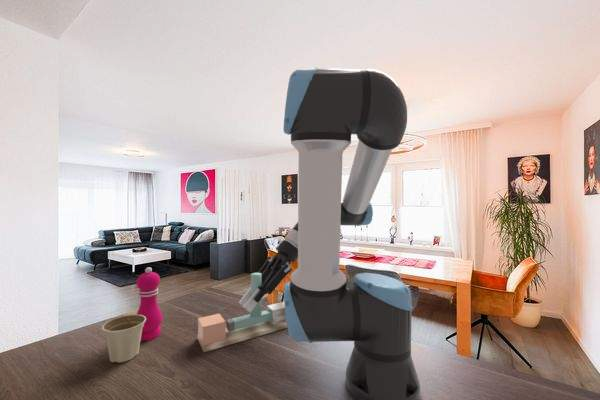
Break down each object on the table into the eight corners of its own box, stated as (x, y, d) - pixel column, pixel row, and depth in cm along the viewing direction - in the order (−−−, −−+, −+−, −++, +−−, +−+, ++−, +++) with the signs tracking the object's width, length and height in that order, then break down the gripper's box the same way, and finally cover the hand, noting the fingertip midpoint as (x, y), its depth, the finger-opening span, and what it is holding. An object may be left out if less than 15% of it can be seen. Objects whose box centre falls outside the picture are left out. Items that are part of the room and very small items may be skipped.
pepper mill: (140, 345, 73) (140, 272, 73) (129, 336, 77) (129, 267, 77) (167, 334, 79) (167, 266, 79) (155, 326, 83) (155, 262, 83)
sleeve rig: (288, 314, 92) (288, 298, 92) (300, 323, 86) (300, 306, 86) (197, 338, 76) (197, 319, 76) (203, 352, 70) (203, 330, 70)
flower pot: (131, 342, 74) (131, 311, 74) (154, 351, 70) (154, 318, 70) (93, 361, 66) (93, 326, 66) (116, 372, 62) (116, 335, 62)
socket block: (219, 330, 79) (219, 313, 79) (225, 339, 74) (225, 321, 74) (198, 335, 76) (198, 318, 76) (202, 345, 70) (202, 327, 70)
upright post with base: (288, 311, 90) (288, 267, 89) (293, 315, 87) (293, 269, 87) (226, 327, 78) (226, 277, 78) (229, 332, 76) (229, 280, 76)
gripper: (312, 258, 83) (263, 325, 74) (287, 249, 97) (243, 305, 88) (298, 242, 80) (245, 310, 71) (274, 236, 94) (227, 292, 85)
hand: (244, 307), depth 80 cm, fingers closed on upright post with base, 3 cm apart
